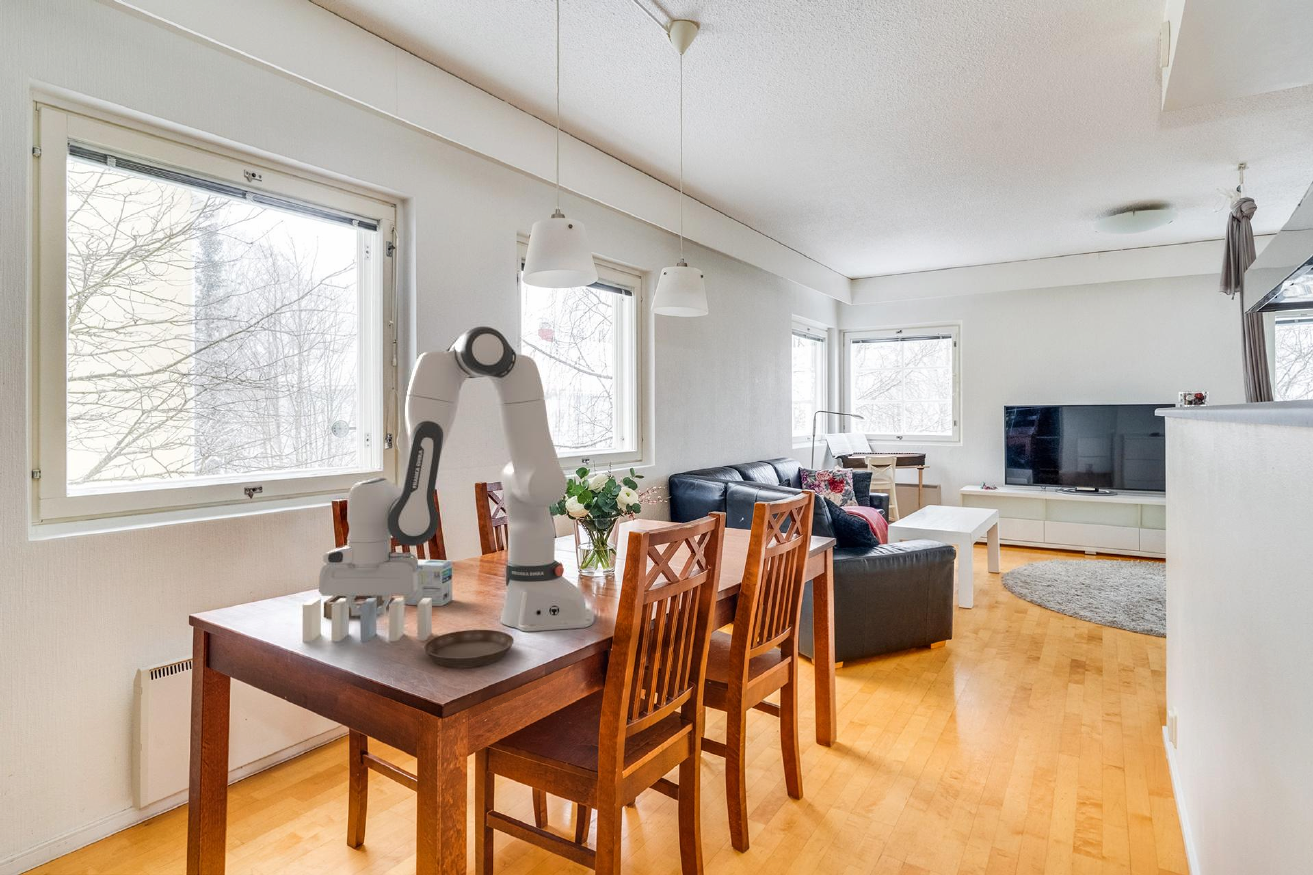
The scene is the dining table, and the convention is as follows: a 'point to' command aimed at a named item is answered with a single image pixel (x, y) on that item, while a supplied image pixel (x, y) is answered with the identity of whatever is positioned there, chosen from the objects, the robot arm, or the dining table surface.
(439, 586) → the light bulb box
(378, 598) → the brown tray
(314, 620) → the domino
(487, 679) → the dining table surface
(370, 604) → the domino
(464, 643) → the plant saucer
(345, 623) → the domino
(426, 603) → the domino
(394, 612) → the domino
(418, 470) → the robot arm
